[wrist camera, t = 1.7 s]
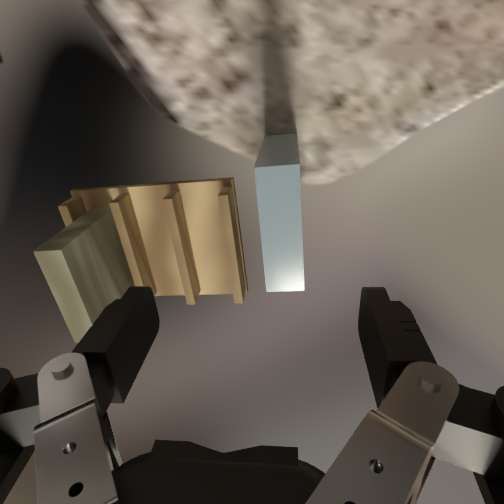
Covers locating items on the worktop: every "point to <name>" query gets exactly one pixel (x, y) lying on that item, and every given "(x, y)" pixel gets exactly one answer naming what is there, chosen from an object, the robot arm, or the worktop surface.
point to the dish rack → (144, 246)
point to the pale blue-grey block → (280, 212)
